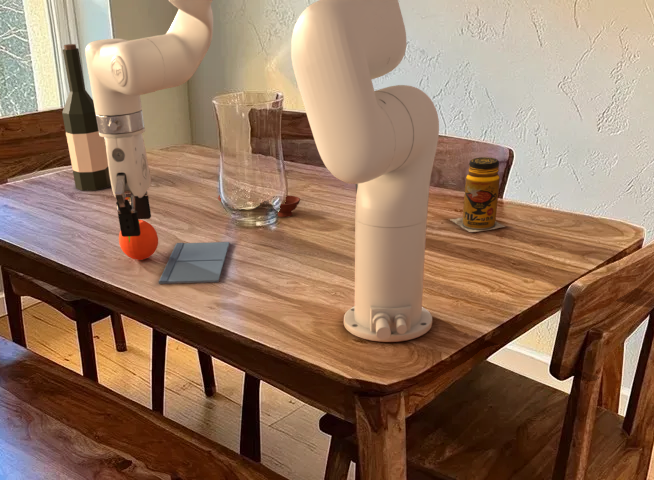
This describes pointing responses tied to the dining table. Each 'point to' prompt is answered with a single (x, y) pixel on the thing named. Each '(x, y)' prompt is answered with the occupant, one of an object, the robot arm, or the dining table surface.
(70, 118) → the wine bottle
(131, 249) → the clementine
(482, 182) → the condiment
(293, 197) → the pottery
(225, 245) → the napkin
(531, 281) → the dining table surface
